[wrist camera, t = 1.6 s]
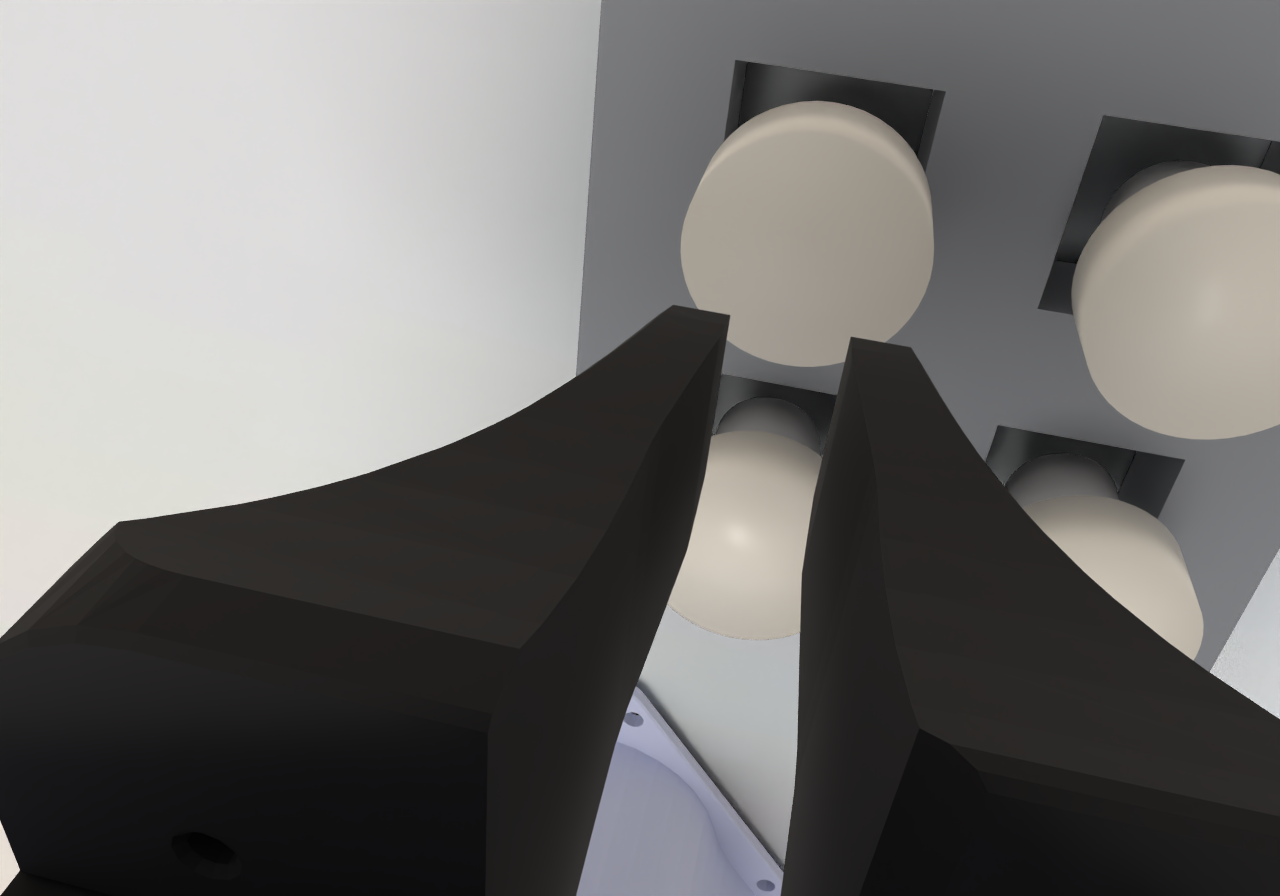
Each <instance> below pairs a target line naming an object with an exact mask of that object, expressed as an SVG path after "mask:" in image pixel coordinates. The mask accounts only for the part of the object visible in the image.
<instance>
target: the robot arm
mask: <svg viewBox="0 0 1280 896" xmlns="http://www.w3.org/2000/svg"><path fill="white" fill-rule="evenodd" d="M729 321H730V315H728V314H722V313H717V312H711V311H705V310H700V309H694V308H689V307H683V306H678V305H672V306H670V307H669V308H667V309H666V310H665V311H663V312H662V313H660V314H659V315H658V316H656V317H655V318H654V319H652V320H651V321H650V322H649V323H647V324H646V325H645V326H644V327H642V328H641V329H640V330H639V331H637V332H636V333H635V334H634V335H632V336H631V337H630V338H628V339H627V340H626V341H624V342H623V343H622V344H621V345H619V346H618V347H617V348H615V349H614V350H613V351H611V352H610V353H609V354H607V355H606V356H604V357H603V358H602V359H600V360H599V361H597V362H596V363H595V364H593V365H592V366H590V367H589V368H588V369H586V370H585V371H583V372H582V373H581V374H579V375H578V376H576V377H575V378H573V379H572V380H570V381H569V382H567V383H566V384H564V385H563V386H561V387H559V388H558V389H556V390H555V391H553V392H551V393H550V394H548V395H546V396H545V397H543V398H541V399H540V400H538V401H537V402H535V403H533V404H532V405H530V406H528V407H527V408H525V409H523V410H521V411H519V412H517V413H515V414H514V415H512V416H510V417H508V418H506V419H504V420H502V421H500V422H498V423H496V424H494V425H492V426H489V427H487V428H485V429H483V430H481V431H478V432H476V433H474V434H472V435H470V436H467V437H465V438H463V439H461V440H459V441H456V442H454V443H451V444H449V445H446V446H444V447H442V448H439V449H436V450H433V451H430V452H427V453H424V454H422V455H419V456H416V457H413V458H410V459H407V460H404V461H402V462H399V463H396V464H393V465H390V466H387V467H384V468H382V469H379V470H376V471H373V472H370V473H367V474H364V475H360V476H357V477H353V478H350V479H346V480H342V481H339V482H335V483H331V484H327V485H324V486H320V487H316V488H312V489H308V490H303V491H299V492H295V493H290V494H286V495H282V496H277V497H273V498H268V499H263V500H258V501H253V502H248V503H243V504H238V505H231V506H225V507H218V508H212V509H205V510H199V511H192V512H186V513H179V514H173V515H166V516H160V517H153V518H147V519H138V520H130V521H121V522H118V523H117V524H116V525H115V526H114V527H113V528H111V529H110V530H109V531H108V532H107V533H106V534H105V535H104V536H103V537H102V538H100V539H99V540H98V541H97V542H96V543H95V544H94V545H93V546H92V547H91V548H90V549H89V550H88V551H87V552H86V553H85V554H84V555H83V556H82V557H81V558H80V559H79V560H78V561H76V562H75V563H74V564H73V565H72V566H71V567H70V568H69V569H68V570H67V571H66V572H65V573H64V574H63V575H62V576H61V577H60V578H59V579H58V581H57V582H56V583H55V584H54V585H53V586H52V587H51V588H50V589H49V590H48V591H47V592H46V593H45V594H44V595H43V596H42V597H41V598H40V599H39V600H38V601H37V602H36V603H35V604H34V605H33V606H32V607H31V608H30V609H29V610H28V611H27V612H26V613H25V614H24V615H23V616H22V617H21V618H20V619H19V620H18V621H17V622H16V623H15V624H14V625H13V626H12V627H11V628H10V629H9V630H8V631H7V632H6V633H5V634H4V635H3V636H2V637H1V638H0V821H1V823H2V826H3V828H4V831H5V833H6V836H7V838H8V841H9V843H10V846H11V848H12V851H13V853H14V856H15V858H16V861H17V863H18V866H19V868H20V871H19V873H18V874H17V875H16V877H15V878H14V879H13V880H12V882H11V883H10V884H9V885H8V887H7V888H6V889H5V891H4V892H3V893H2V894H1V896H1280V719H1279V718H1277V717H1275V716H1274V715H1272V714H1271V713H1269V712H1268V711H1266V710H1265V709H1263V708H1262V707H1260V706H1259V705H1257V704H1256V703H1254V702H1253V701H1251V700H1250V699H1248V698H1247V697H1245V696H1244V695H1242V694H1241V693H1239V692H1238V691H1236V690H1235V689H1233V688H1232V687H1230V686H1229V685H1228V684H1226V683H1225V682H1223V681H1222V680H1220V679H1219V678H1217V677H1216V676H1214V675H1213V674H1211V673H1210V672H1208V671H1207V670H1205V669H1204V668H1203V667H1201V666H1200V665H1199V664H1197V663H1196V662H1195V661H1193V660H1192V659H1190V658H1189V657H1188V656H1186V655H1185V654H1184V653H1182V652H1181V651H1179V650H1178V649H1177V648H1175V647H1174V646H1173V645H1171V644H1170V643H1169V642H1167V641H1166V640H1165V639H1163V638H1162V637H1161V636H1160V635H1158V634H1157V633H1156V632H1155V631H1154V630H1152V629H1151V628H1150V627H1149V626H1147V625H1146V624H1145V623H1144V622H1142V621H1141V620H1140V619H1139V618H1138V617H1136V616H1135V615H1134V614H1133V613H1131V612H1130V611H1129V610H1128V609H1126V608H1125V607H1124V606H1123V605H1122V604H1120V603H1119V602H1118V601H1117V600H1115V599H1114V598H1113V597H1112V596H1111V595H1110V594H1108V593H1107V592H1106V591H1105V590H1104V589H1103V588H1102V587H1101V586H1099V585H1098V584H1097V583H1096V582H1095V581H1094V580H1093V579H1092V578H1090V577H1089V576H1088V575H1087V574H1086V573H1085V572H1084V571H1083V570H1082V569H1081V568H1080V567H1079V566H1078V565H1077V564H1076V563H1075V562H1074V561H1073V560H1072V559H1071V558H1070V557H1069V556H1068V555H1067V554H1066V553H1065V552H1064V551H1063V550H1062V549H1061V548H1060V547H1059V546H1058V545H1057V544H1056V543H1055V542H1054V541H1053V540H1051V539H1050V538H1049V537H1048V536H1047V535H1046V534H1045V533H1044V532H1043V531H1042V529H1041V528H1040V527H1039V526H1038V525H1037V524H1036V523H1035V522H1034V521H1033V520H1032V519H1031V517H1030V516H1029V515H1028V514H1027V513H1026V512H1025V511H1024V510H1023V509H1022V507H1021V506H1020V505H1019V504H1018V502H1017V501H1016V500H1015V499H1014V498H1013V496H1012V495H1011V494H1010V493H1009V492H1008V490H1007V489H1006V488H1005V487H1004V486H1003V484H1002V483H1001V482H1000V481H999V479H998V478H997V477H996V476H995V475H994V473H993V472H992V471H991V469H990V468H989V467H988V465H987V464H986V463H985V462H984V460H983V459H982V458H981V456H980V455H979V453H978V452H977V451H976V449H975V448H974V446H973V445H972V443H971V442H970V441H969V439H968V438H967V436H966V435H965V433H964V432H963V430H962V429H961V427H960V426H959V424H958V423H957V421H956V420H955V418H954V417H953V415H952V414H951V412H950V410H949V409H948V407H947V405H946V404H945V402H944V401H943V399H942V397H941V396H940V394H939V392H938V391H937V389H936V387H935V386H934V384H933V382H932V381H931V379H930V377H929V376H928V374H927V372H926V371H925V369H924V367H923V365H922V364H921V362H920V361H919V359H918V358H917V356H916V354H915V353H914V351H913V350H912V348H911V347H907V346H901V345H896V344H890V343H884V342H879V341H873V340H868V339H862V338H856V337H850V342H849V346H848V350H847V355H846V359H845V363H844V367H843V372H842V376H841V380H840V385H839V389H838V393H837V398H836V402H835V406H834V410H833V415H832V419H831V423H830V428H829V432H828V436H827V440H826V445H825V449H824V453H823V458H822V462H821V466H820V471H819V475H818V479H817V483H816V488H815V492H814V496H813V503H812V509H811V516H810V522H809V529H808V535H807V542H806V548H805V555H804V562H803V569H802V582H801V618H800V658H799V702H798V745H797V762H796V776H795V789H794V797H793V805H792V812H791V820H790V828H789V835H788V843H787V851H786V858H785V866H784V873H783V871H782V870H781V869H780V868H779V866H778V865H777V864H776V862H775V861H774V860H773V859H772V857H771V856H770V855H769V853H768V852H767V851H766V850H765V848H764V847H763V846H762V844H761V843H760V842H759V841H758V839H757V838H756V837H755V836H754V834H753V833H752V832H751V830H750V829H749V828H748V827H747V825H746V824H745V823H744V821H743V820H742V819H741V818H740V816H739V815H738V814H737V812H736V811H735V810H734V809H733V807H732V806H731V805H730V803H729V802H728V801H727V800H726V798H725V797H724V796H723V795H722V793H721V792H720V791H719V789H718V788H717V787H716V786H715V784H714V783H713V782H712V780H711V779H710V778H709V777H708V775H707V774H706V773H705V771H704V770H703V769H702V768H701V766H700V765H699V764H698V763H697V761H696V760H695V759H694V757H693V756H692V755H691V754H690V752H689V751H688V750H687V748H686V747H685V746H684V745H683V743H682V742H681V741H680V739H679V738H678V737H677V736H676V734H675V733H674V732H673V730H672V729H671V728H670V727H669V725H668V724H667V723H666V722H665V720H664V719H663V718H662V716H661V715H660V714H659V713H658V711H657V710H656V709H655V707H654V706H653V705H652V704H651V702H650V701H649V700H648V698H647V697H646V696H645V695H644V693H643V692H642V691H641V690H640V689H639V688H638V687H636V684H637V682H638V679H639V677H640V674H641V671H642V669H643V666H644V663H645V661H646V658H647V655H648V653H649V650H650V648H651V645H652V642H653V640H654V637H655V634H656V632H657V629H658V627H659V624H660V621H661V619H662V616H663V613H664V611H665V608H666V605H667V603H668V600H669V597H670V595H671V592H672V590H673V587H674V584H675V582H676V579H677V576H678V574H679V571H680V568H681V565H682V563H683V560H684V557H685V555H686V552H687V549H688V545H689V541H690V537H691V533H692V528H693V524H694V520H695V516H696V512H697V508H698V504H699V499H700V495H701V491H702V487H703V482H704V478H705V474H706V467H707V461H708V455H709V448H710V442H711V436H712V429H713V423H714V417H715V410H716V404H717V397H718V391H719V385H720V378H721V372H722V366H723V359H724V353H725V347H726V340H727V334H728V328H729ZM631 712H634V713H637V714H639V715H635V714H632V713H631Z"/></svg>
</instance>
